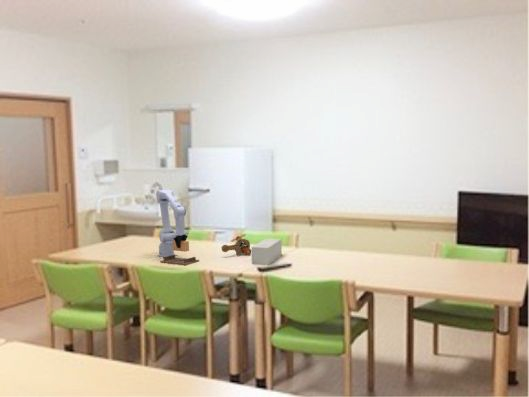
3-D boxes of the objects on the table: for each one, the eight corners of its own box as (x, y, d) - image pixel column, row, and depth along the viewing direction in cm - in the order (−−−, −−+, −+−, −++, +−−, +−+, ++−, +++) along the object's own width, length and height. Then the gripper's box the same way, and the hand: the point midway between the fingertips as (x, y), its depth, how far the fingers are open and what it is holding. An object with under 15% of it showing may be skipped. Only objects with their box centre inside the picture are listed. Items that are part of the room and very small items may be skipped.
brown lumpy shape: (252, 254, 373) (252, 234, 372) (225, 258, 362) (224, 237, 361) (246, 253, 380) (246, 232, 379) (219, 256, 369) (218, 235, 368)
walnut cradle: (160, 262, 353) (159, 257, 353) (174, 258, 365) (174, 253, 365) (185, 265, 343) (185, 260, 343) (199, 261, 355) (199, 256, 355)
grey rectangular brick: (266, 254, 376) (265, 238, 375) (281, 255, 373) (281, 239, 372) (251, 264, 345) (251, 247, 344) (268, 265, 342) (268, 247, 341)
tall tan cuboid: (172, 250, 355) (172, 240, 355) (176, 249, 358) (176, 240, 358) (185, 251, 351) (185, 242, 350) (189, 250, 354) (188, 241, 353)
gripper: (177, 227, 345) (178, 249, 346) (192, 224, 357) (192, 246, 359) (168, 227, 348) (169, 248, 350) (183, 224, 361) (183, 245, 362)
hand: (180, 247), depth 354 cm, fingers closed on tall tan cuboid, 3 cm apart
